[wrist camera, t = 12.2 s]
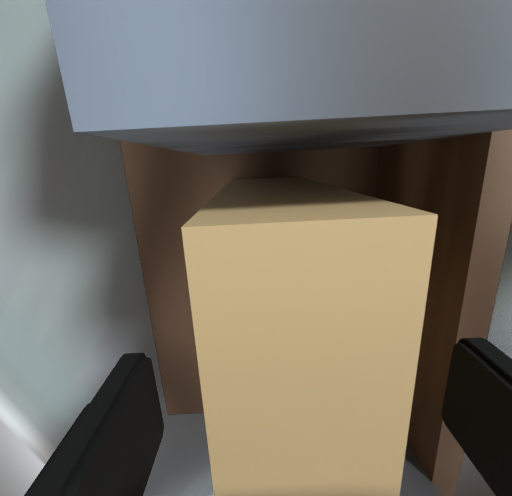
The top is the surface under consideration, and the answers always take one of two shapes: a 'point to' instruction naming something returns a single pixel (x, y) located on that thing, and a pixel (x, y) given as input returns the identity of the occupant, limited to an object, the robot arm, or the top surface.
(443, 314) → the shelf
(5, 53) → the top surface
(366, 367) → the book
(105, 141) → the top surface
